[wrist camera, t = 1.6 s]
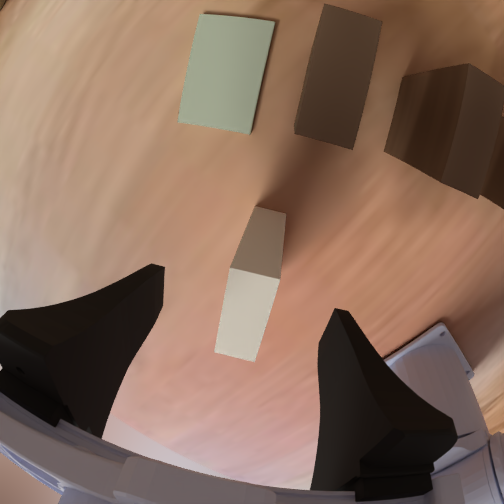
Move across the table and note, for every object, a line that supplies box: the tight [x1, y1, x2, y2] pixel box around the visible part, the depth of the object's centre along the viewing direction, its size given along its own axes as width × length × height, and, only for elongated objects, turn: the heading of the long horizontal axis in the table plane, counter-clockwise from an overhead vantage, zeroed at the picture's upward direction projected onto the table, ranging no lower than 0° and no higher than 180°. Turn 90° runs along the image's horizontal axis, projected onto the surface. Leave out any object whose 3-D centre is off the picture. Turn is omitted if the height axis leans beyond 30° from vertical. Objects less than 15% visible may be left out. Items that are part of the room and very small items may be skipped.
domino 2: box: [294, 4, 382, 150], centre depth 10 cm, size 2×4×7 cm, turn 169°
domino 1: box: [214, 206, 286, 362], centre depth 15 cm, size 2×4×7 cm, turn 168°
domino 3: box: [384, 63, 504, 199], centre depth 10 cm, size 2×4×7 cm, turn 168°
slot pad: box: [178, 14, 275, 135], centre depth 14 cm, size 4×6×1 cm, turn 169°
